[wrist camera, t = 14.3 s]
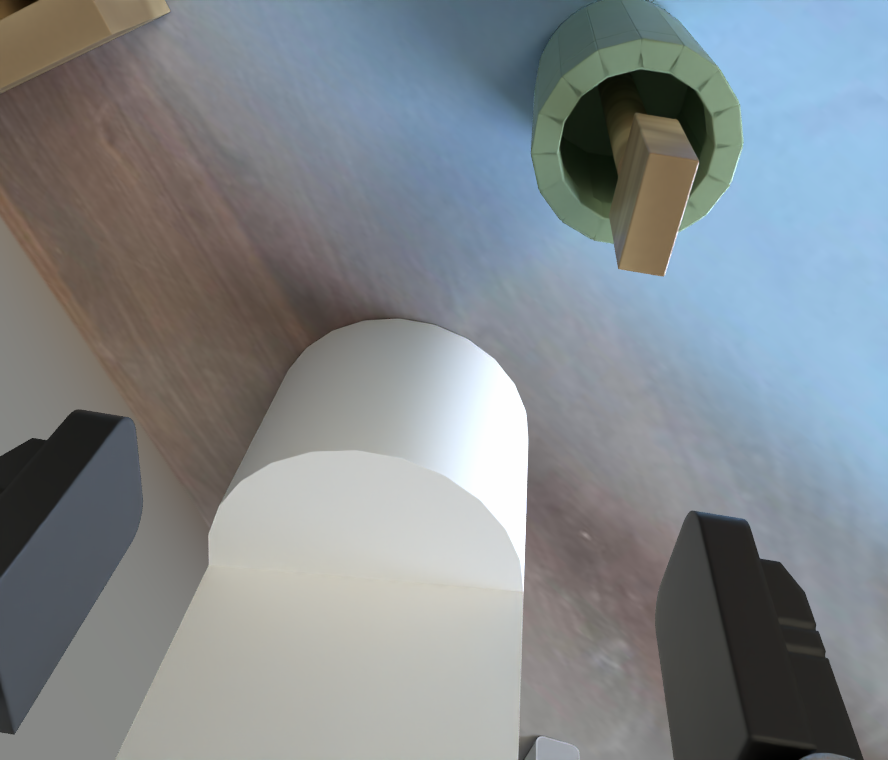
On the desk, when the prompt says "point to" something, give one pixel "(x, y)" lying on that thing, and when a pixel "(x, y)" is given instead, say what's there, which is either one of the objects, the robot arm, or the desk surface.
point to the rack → (62, 31)
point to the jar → (663, 94)
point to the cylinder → (360, 567)
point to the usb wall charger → (552, 750)
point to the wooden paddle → (645, 178)
